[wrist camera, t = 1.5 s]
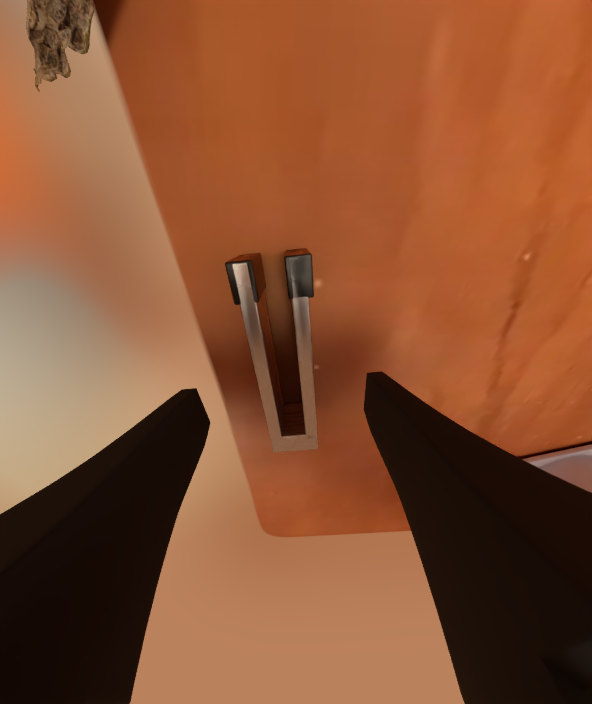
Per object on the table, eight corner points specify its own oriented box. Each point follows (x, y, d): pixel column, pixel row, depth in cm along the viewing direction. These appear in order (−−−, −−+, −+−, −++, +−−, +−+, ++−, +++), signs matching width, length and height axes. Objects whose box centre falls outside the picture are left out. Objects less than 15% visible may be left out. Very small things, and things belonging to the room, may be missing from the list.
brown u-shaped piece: (316, 415, 16) (321, 449, 13) (273, 418, 16) (270, 453, 13) (306, 248, 10) (311, 253, 8) (239, 255, 10) (223, 262, 8)
